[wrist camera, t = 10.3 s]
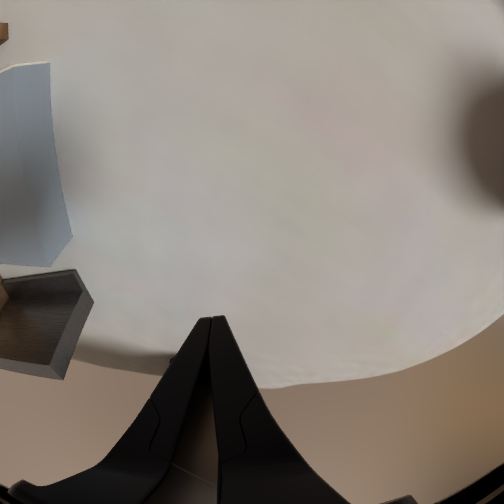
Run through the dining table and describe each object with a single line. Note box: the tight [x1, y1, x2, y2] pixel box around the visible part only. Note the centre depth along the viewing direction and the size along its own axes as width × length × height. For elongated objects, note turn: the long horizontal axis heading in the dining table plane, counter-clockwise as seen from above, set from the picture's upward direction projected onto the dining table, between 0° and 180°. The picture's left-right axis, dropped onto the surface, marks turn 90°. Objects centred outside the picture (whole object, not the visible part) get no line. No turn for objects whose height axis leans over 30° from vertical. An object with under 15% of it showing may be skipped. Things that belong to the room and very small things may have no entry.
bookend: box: [0, 270, 94, 380], centre depth 20 cm, size 4×12×9 cm, turn 96°
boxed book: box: [0, 61, 73, 267], centre depth 14 cm, size 14×9×4 cm, turn 176°
